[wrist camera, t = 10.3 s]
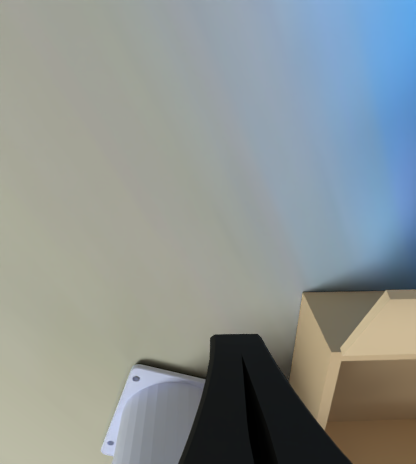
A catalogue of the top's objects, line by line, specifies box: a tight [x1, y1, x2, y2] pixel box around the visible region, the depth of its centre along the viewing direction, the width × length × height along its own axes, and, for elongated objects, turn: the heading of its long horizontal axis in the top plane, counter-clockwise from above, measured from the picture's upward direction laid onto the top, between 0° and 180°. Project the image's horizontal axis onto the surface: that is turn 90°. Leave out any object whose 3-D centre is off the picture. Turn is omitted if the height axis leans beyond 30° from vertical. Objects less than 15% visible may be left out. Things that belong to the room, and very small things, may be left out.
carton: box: [289, 291, 416, 464], centre depth 23 cm, size 12×12×5 cm
